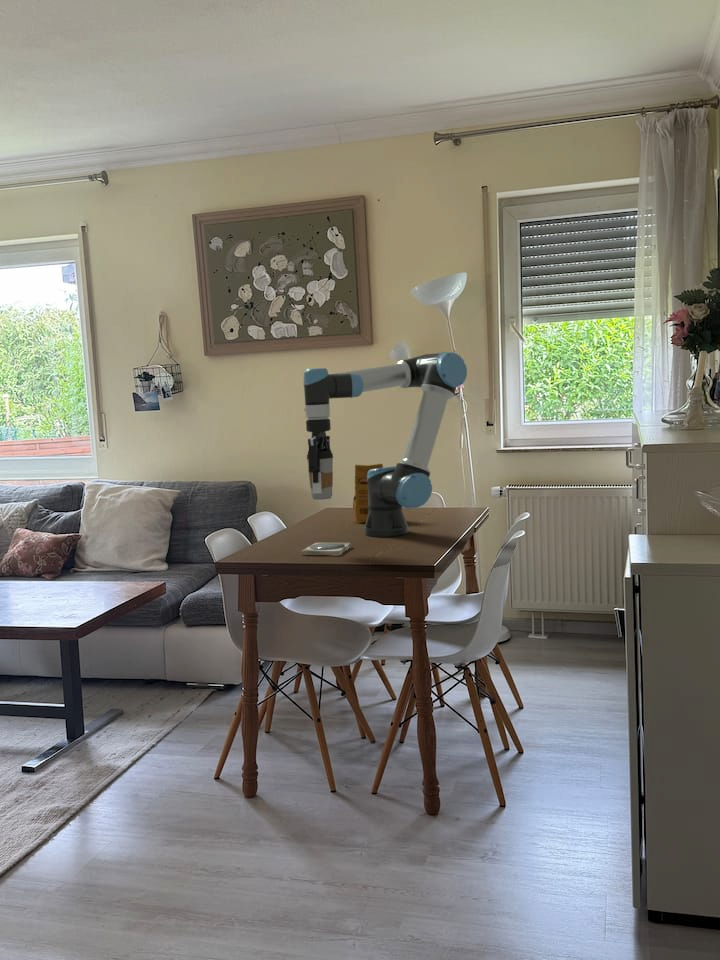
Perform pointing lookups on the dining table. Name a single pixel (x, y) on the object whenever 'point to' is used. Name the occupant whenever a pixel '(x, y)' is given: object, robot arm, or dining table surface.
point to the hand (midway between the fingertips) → (321, 491)
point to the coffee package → (362, 492)
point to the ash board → (326, 549)
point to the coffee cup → (324, 475)
